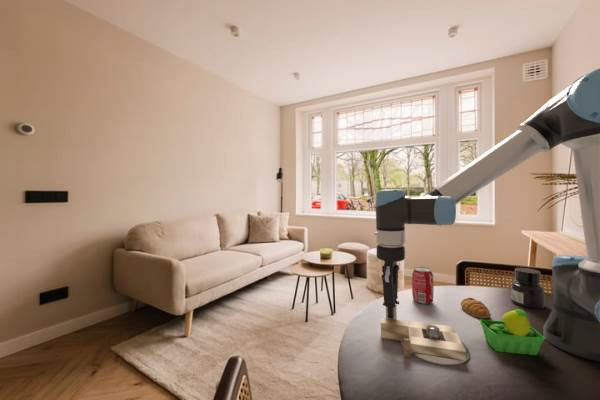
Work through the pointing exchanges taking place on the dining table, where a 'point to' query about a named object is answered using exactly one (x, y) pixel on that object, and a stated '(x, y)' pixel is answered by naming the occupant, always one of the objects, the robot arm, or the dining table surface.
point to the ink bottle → (527, 289)
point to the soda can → (422, 285)
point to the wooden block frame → (419, 344)
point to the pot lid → (434, 334)
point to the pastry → (475, 308)
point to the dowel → (407, 347)
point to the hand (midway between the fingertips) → (391, 327)
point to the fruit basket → (512, 334)
